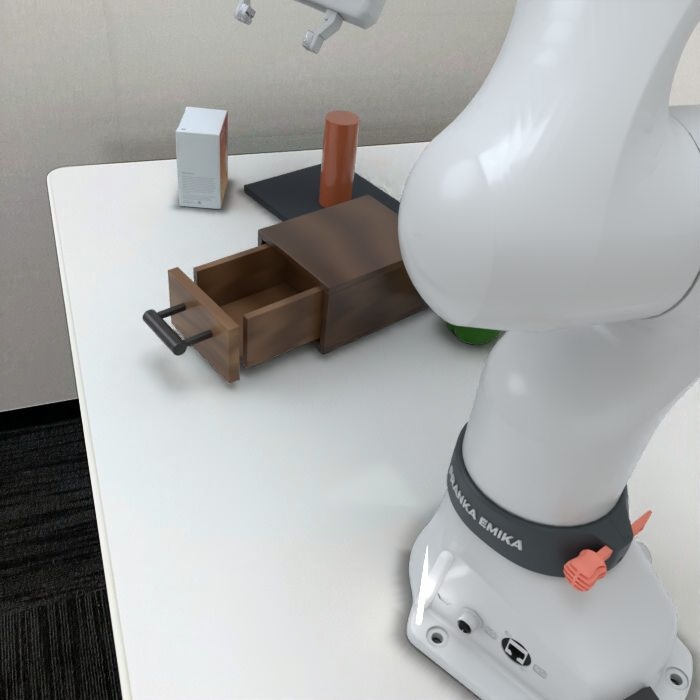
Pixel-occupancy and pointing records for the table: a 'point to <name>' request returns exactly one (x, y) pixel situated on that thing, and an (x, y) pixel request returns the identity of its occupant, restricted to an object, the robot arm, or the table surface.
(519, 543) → the robot arm
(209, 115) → the small box
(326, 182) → the orange cylinder
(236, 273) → the drawer
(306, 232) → the cabinet
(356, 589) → the table surface
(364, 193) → the mat
